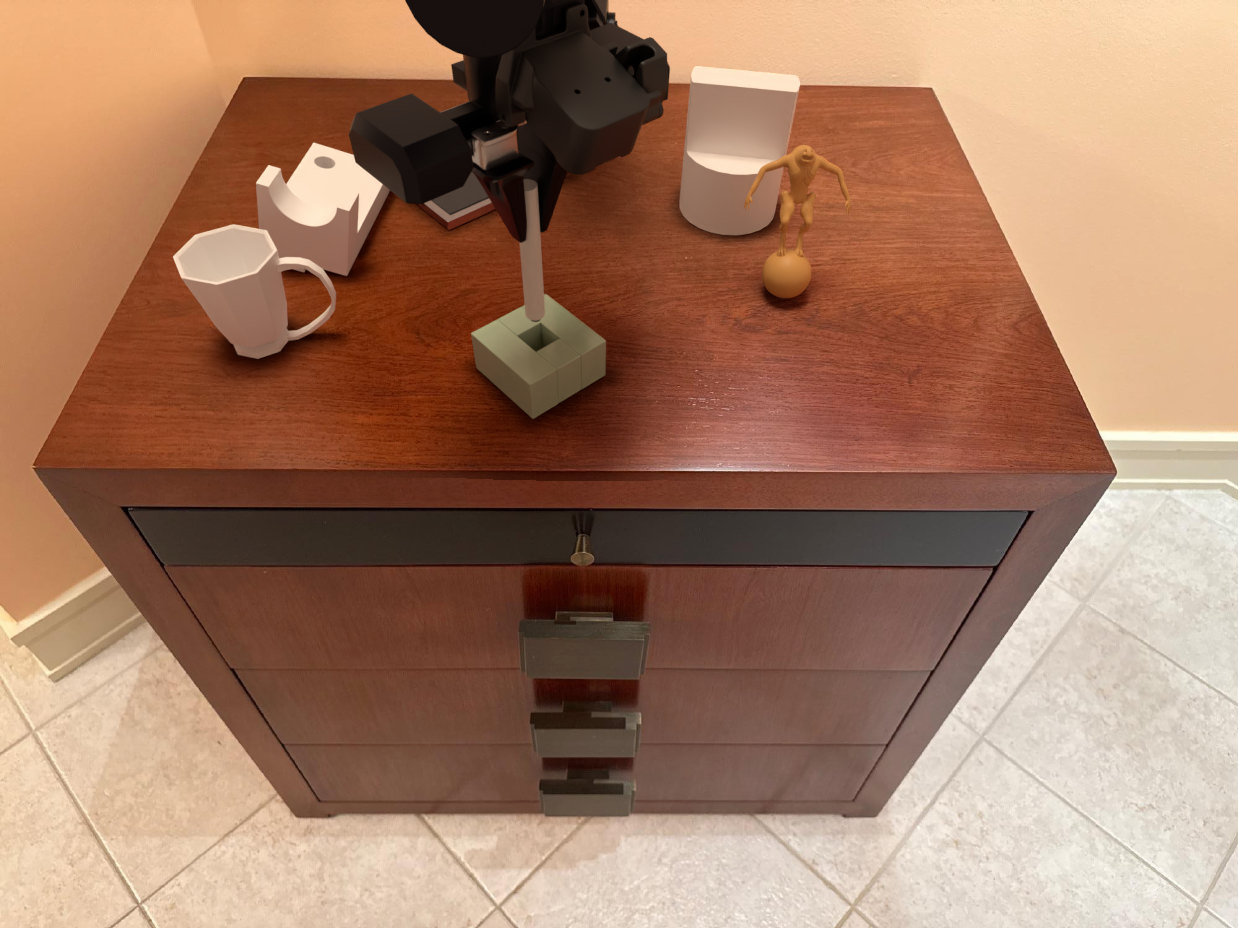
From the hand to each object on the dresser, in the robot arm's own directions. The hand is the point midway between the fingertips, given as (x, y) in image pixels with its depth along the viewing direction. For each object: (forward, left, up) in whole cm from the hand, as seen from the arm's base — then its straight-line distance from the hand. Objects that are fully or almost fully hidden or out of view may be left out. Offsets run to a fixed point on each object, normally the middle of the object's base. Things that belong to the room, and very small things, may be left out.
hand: (529, 234), depth 52 cm
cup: (+13, -16, -12) cm, 24 cm away
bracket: (+2, -25, -12) cm, 28 cm away
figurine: (-22, +5, -12) cm, 26 cm away
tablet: (-12, -25, -12) cm, 30 cm away
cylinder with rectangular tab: (-27, -6, -12) cm, 30 cm away
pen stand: (0, 0, -12) cm, 12 cm away
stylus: (0, 0, -7) cm, 7 cm away
